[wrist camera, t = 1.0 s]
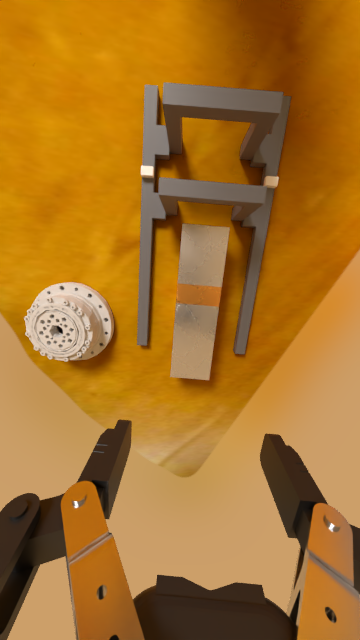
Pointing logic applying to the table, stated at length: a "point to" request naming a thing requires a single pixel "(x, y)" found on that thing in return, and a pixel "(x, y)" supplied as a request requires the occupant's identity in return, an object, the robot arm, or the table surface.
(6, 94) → the table surface
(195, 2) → the table surface
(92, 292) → the mechanical component
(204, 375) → the bar
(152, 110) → the collar frame
